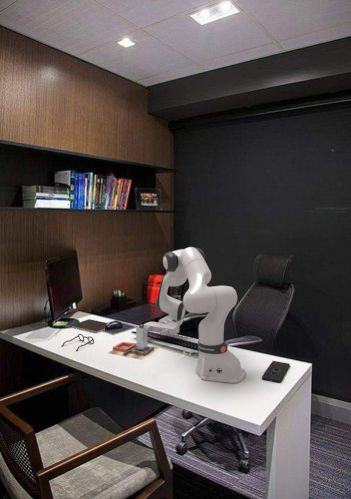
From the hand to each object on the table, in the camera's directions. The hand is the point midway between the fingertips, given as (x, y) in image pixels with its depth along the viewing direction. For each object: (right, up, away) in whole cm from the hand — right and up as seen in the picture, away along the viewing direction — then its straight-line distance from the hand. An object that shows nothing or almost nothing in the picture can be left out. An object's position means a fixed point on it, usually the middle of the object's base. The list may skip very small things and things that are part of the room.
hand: (153, 332), depth 197 cm
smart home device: (+57, -11, -34) cm, 67 cm away
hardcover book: (-42, -6, +39) cm, 58 cm away
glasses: (-42, -10, +6) cm, 44 cm away
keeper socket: (-15, -8, -4) cm, 17 cm away
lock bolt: (-5, -8, -9) cm, 13 cm away
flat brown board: (-10, -9, -7) cm, 15 cm away
